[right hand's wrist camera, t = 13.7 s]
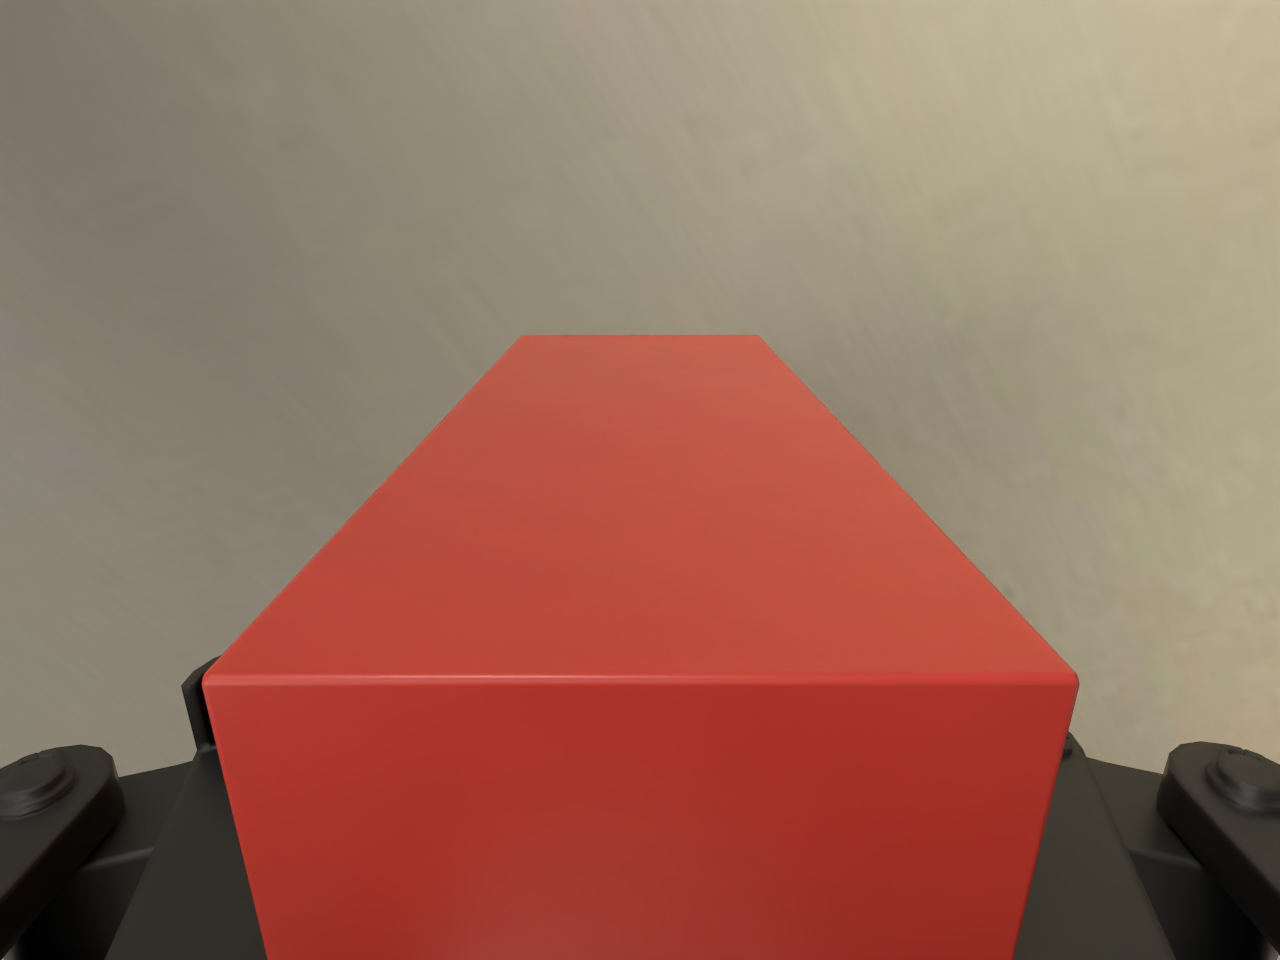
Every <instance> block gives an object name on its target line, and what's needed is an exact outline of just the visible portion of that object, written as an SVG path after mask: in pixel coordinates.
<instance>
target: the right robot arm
mask: <svg viewBox="0 0 1280 960" xmlns="http://www.w3.org/2000/svg"><path fill="white" fill-rule="evenodd" d="M220 657H221V656H219V657H216V658H214V659H212V660H210V661H209V662H207V663H206V664H204V665H203V666H201V667H200V668H198V669H196V670H195V671H193V673H192V674H191V675H190V676H189V677H188V678H187V679H186V681H185V682H184V683H183V684H182V685H181V687H182V691H183V695H184V699H185V703H186V707H187V711H188V715H189V719H190V723H191V727H192V731H193V735H194V739H195V743H196V747H197V752H196V754H195V757H194V759H193V761H190V762H186V763H183V764H179V765H175V766H171V767H166V768H161V769H156V770H152V771H147V772H142V773H137V774H133V775H128V776H123V777H118V774H117V771H116V767H115V764H114V761H113V757H112V756H111V755H110V754H108V753H107V752H106V751H105V750H103V749H102V748H100V747H93V746H87V745H74V746H66V747H58V748H53V749H48V750H44V751H41V752H40V753H34V754H31V755H28V756H25V757H23V758H21V759H19V760H18V761H16V762H14V763H11V764H9V765H7V766H5V767H3V768H1V769H0V960H2V958H4V960H268V959H267V955H266V951H265V947H264V943H263V938H262V934H261V930H260V926H259V922H258V918H257V913H256V909H255V905H254V901H253V897H252V893H251V888H250V884H249V880H248V876H247V872H246V868H245V863H244V859H243V855H242V851H241V847H240V843H239V838H238V834H237V830H236V826H235V822H234V818H233V813H232V809H231V805H230V801H229V797H228V792H227V788H226V784H225V780H224V776H223V772H222V767H221V763H220V759H219V755H218V751H217V747H216V742H215V738H214V734H213V730H212V726H211V722H210V717H209V713H208V709H207V705H206V701H205V697H204V692H203V688H202V680H203V676H204V674H205V672H206V671H207V670H208V669H209V668H210V667H211V666H212V665H213V664H214V663H215V662H216V661H217V660H218V659H219V658H220ZM1278 955H1280V765H1279V764H1277V763H1275V762H1273V761H1271V760H1269V759H1267V758H1265V757H1263V756H1262V755H1260V754H1257V753H1254V752H1252V751H1249V750H1246V749H1245V750H1243V749H1241V748H1239V747H1234V746H1230V745H1225V744H1217V743H1209V742H1194V743H1187V744H1180V745H1179V746H1178V747H1177V748H1175V749H1174V750H1173V751H1172V752H1170V753H1169V756H1168V760H1167V763H1166V766H1165V770H1164V773H1163V774H1158V773H1154V772H1149V771H1144V770H1139V769H1135V768H1130V767H1125V766H1120V765H1116V764H1111V763H1106V762H1102V761H1099V760H1095V759H1092V758H1088V757H1086V755H1085V753H1084V751H1083V749H1082V747H1081V746H1080V745H1079V743H1078V742H1077V741H1076V739H1075V738H1074V737H1073V735H1072V734H1071V733H1070V732H1068V734H1067V738H1066V742H1065V746H1064V751H1063V755H1062V759H1061V763H1060V767H1059V771H1058V775H1057V780H1056V784H1055V788H1054V792H1053V796H1052V800H1051V805H1050V809H1049V813H1048V817H1047V821H1046V825H1045V830H1044V834H1043V838H1042V842H1041V846H1040V850H1039V855H1038V859H1037V863H1036V867H1035V871H1034V875H1033V879H1032V884H1031V888H1030V892H1029V896H1028V900H1027V904H1026V909H1025V913H1024V917H1023V921H1022V925H1021V929H1020V934H1019V938H1018V942H1017V946H1016V950H1015V954H1014V958H1013V960H1277V958H1278Z"/></svg>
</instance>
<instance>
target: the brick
mask: <svg viewBox="0 0 1280 960" xmlns="http://www.w3.org/2000/svg"><path fill="white" fill-rule="evenodd" d="M202 688H203V692H204V697H205V701H206V705H207V709H208V713H209V717H210V722H211V726H212V730H213V734H214V738H215V742H216V747H217V751H218V755H219V759H220V763H221V767H222V772H223V776H224V780H225V784H226V788H227V792H228V797H229V801H230V805H231V809H232V813H233V818H234V822H235V826H236V830H237V834H238V838H239V843H240V847H241V851H242V855H243V859H244V863H245V868H246V872H247V876H248V880H249V884H250V888H251V893H252V897H253V901H254V905H255V909H256V913H257V918H258V922H259V926H260V930H261V934H262V938H263V943H264V947H265V951H266V955H267V959H268V960H1013V958H1014V954H1015V950H1016V946H1017V942H1018V938H1019V934H1020V929H1021V925H1022V921H1023V917H1024V913H1025V909H1026V904H1027V900H1028V896H1029V892H1030V888H1031V884H1032V879H1033V875H1034V871H1035V867H1036V863H1037V859H1038V855H1039V850H1040V846H1041V842H1042V838H1043V834H1044V830H1045V825H1046V821H1047V817H1048V813H1049V809H1050V805H1051V800H1052V796H1053V792H1054V788H1055V784H1056V780H1057V775H1058V771H1059V767H1060V763H1061V759H1062V755H1063V751H1064V746H1065V742H1066V738H1067V734H1068V730H1069V726H1070V721H1071V717H1072V713H1073V709H1074V705H1075V701H1076V696H1077V692H1078V688H1079V680H1078V676H1077V674H1076V673H1075V671H1074V670H1073V669H1072V668H1071V667H1070V666H1069V665H1068V664H1067V663H1066V662H1065V661H1064V660H1063V659H1062V658H1061V657H1060V656H1059V654H1058V653H1057V652H1056V651H1055V650H1054V649H1053V648H1052V647H1051V646H1050V645H1049V644H1048V643H1047V642H1046V641H1045V640H1044V639H1043V637H1042V636H1041V635H1040V634H1039V633H1038V632H1037V631H1036V630H1035V629H1034V628H1033V627H1032V626H1031V625H1030V624H1029V623H1028V621H1027V620H1026V619H1025V618H1024V617H1023V616H1022V615H1021V614H1020V613H1019V612H1018V611H1017V610H1016V609H1015V608H1014V607H1013V606H1012V604H1011V603H1010V602H1009V601H1008V600H1007V599H1006V598H1005V597H1004V596H1003V595H1002V594H1001V593H1000V592H999V591H998V590H997V589H996V587H995V586H994V585H993V584H992V583H991V582H990V581H989V580H988V579H987V578H986V577H985V576H984V575H983V574H982V573H981V572H980V570H979V569H978V568H977V567H976V566H975V565H974V564H973V563H972V562H971V561H970V560H969V559H968V558H967V557H966V556H965V555H964V553H963V552H962V551H961V550H960V549H959V548H958V547H957V546H956V545H955V544H954V543H953V542H952V541H951V540H950V539H949V538H948V536H947V535H946V534H945V533H944V532H943V531H942V530H941V529H940V528H939V527H938V526H937V525H936V524H935V523H934V522H933V521H932V519H931V518H930V517H929V516H928V515H927V514H926V513H925V512H924V511H923V510H922V509H921V508H920V507H919V506H918V505H917V503H916V502H915V501H914V500H913V499H912V498H911V497H910V496H909V495H908V494H907V493H906V492H905V491H904V490H903V489H902V488H901V486H900V485H899V484H898V483H897V482H896V481H895V480H894V479H893V478H892V477H891V476H890V475H889V474H888V473H887V472H886V471H885V469H884V468H883V467H882V466H881V465H880V464H879V463H878V462H877V461H876V460H875V459H874V458H873V457H872V456H871V455H870V454H869V452H868V451H867V450H866V449H865V448H864V447H863V446H862V445H861V444H860V443H859V442H858V441H857V440H856V439H855V438H854V437H853V435H852V434H851V433H850V432H849V431H848V430H847V429H846V428H845V427H844V426H843V425H842V424H841V423H840V422H839V421H838V420H837V418H836V417H835V416H834V415H833V414H832V413H831V412H830V411H829V410H828V409H827V408H826V407H825V406H824V405H823V404H822V403H821V401H820V400H819V399H818V398H817V397H816V396H815V395H814V394H813V393H812V392H811V391H810V390H809V389H808V388H807V387H806V385H805V384H804V383H803V382H802V381H801V380H800V379H799V378H798V377H797V376H796V375H795V374H794V373H793V372H792V371H791V370H790V368H789V367H788V366H787V365H786V364H785V363H784V362H783V361H782V360H781V359H780V358H779V357H778V356H777V355H776V354H775V353H774V351H773V350H772V349H771V348H770V347H769V346H768V345H767V344H766V343H765V342H764V341H763V340H762V339H761V338H760V337H759V336H758V335H523V336H521V337H520V338H519V339H518V340H517V341H516V342H515V343H514V344H513V345H512V346H511V348H510V349H509V350H508V351H507V352H506V353H505V354H504V355H503V356H502V357H501V358H500V359H499V360H498V361H497V362H496V364H495V365H494V366H493V367H492V368H491V369H490V370H489V371H488V372H487V373H486V374H485V375H484V376H483V377H482V378H481V379H480V381H479V382H478V383H477V384H476V385H475V386H474V387H473V388H472V389H471V390H470V391H469V392H468V393H467V394H466V395H465V397H464V398H463V399H462V400H461V401H460V402H459V403H458V404H457V405H456V406H455V407H454V408H453V409H452V410H451V411H450V413H449V414H448V415H447V416H446V417H445V418H444V419H443V420H442V421H441V422H440V423H439V424H438V425H437V426H436V427H435V428H434V430H433V431H432V432H431V433H430V434H429V435H428V436H427V437H426V438H425V439H424V440H423V441H422V442H421V443H420V444H419V446H418V447H417V448H416V449H415V450H414V451H413V452H412V453H411V454H410V455H409V456H408V457H407V458H406V459H405V460H404V462H403V463H402V464H401V465H400V466H399V467H398V468H397V469H396V470H395V471H394V472H393V473H392V474H391V475H390V476H389V478H388V479H387V480H386V481H385V482H384V483H383V484H382V485H381V486H380V487H379V488H378V489H377V490H376V491H375V492H374V493H373V495H372V496H371V497H370V498H369V499H368V500H367V501H366V502H365V503H364V504H363V505H362V506H361V507H360V508H359V509H358V511H357V512H356V513H355V514H354V515H353V516H352V517H351V518H350V519H349V520H348V521H347V522H346V523H345V524H344V525H343V527H342V528H341V529H340V530H339V531H338V532H337V533H336V534H335V535H334V536H333V537H332V538H331V539H330V540H329V541H328V543H327V544H326V545H325V546H324V547H323V548H322V549H321V550H320V551H319V552H318V553H317V554H316V555H315V556H314V557H313V558H312V560H311V561H310V562H309V563H308V564H307V565H306V566H305V567H304V568H303V569H302V570H301V571H300V572H299V573H298V574H297V576H296V577H295V578H294V579H293V580H292V581H291V582H290V583H289V584H288V585H287V586H286V587H285V588H284V589H283V590H282V592H281V593H280V594H279V595H278V596H277V597H276V598H275V599H274V600H273V601H272V602H271V603H270V604H269V605H268V606H267V607H266V609H265V610H264V611H263V612H262V613H261V614H260V615H259V616H258V617H257V618H256V619H255V620H254V621H253V622H252V623H251V625H250V626H249V627H248V628H247V629H246V630H245V631H244V632H243V633H242V634H241V635H240V636H239V637H238V638H237V639H236V641H235V642H234V643H233V644H232V645H231V646H230V647H229V648H228V649H227V650H226V651H225V652H224V653H223V654H222V655H221V657H220V658H219V659H218V660H217V661H216V662H215V663H214V664H213V665H212V666H211V667H210V668H209V669H208V670H207V671H206V672H205V674H204V676H203V680H202Z"/></svg>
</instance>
